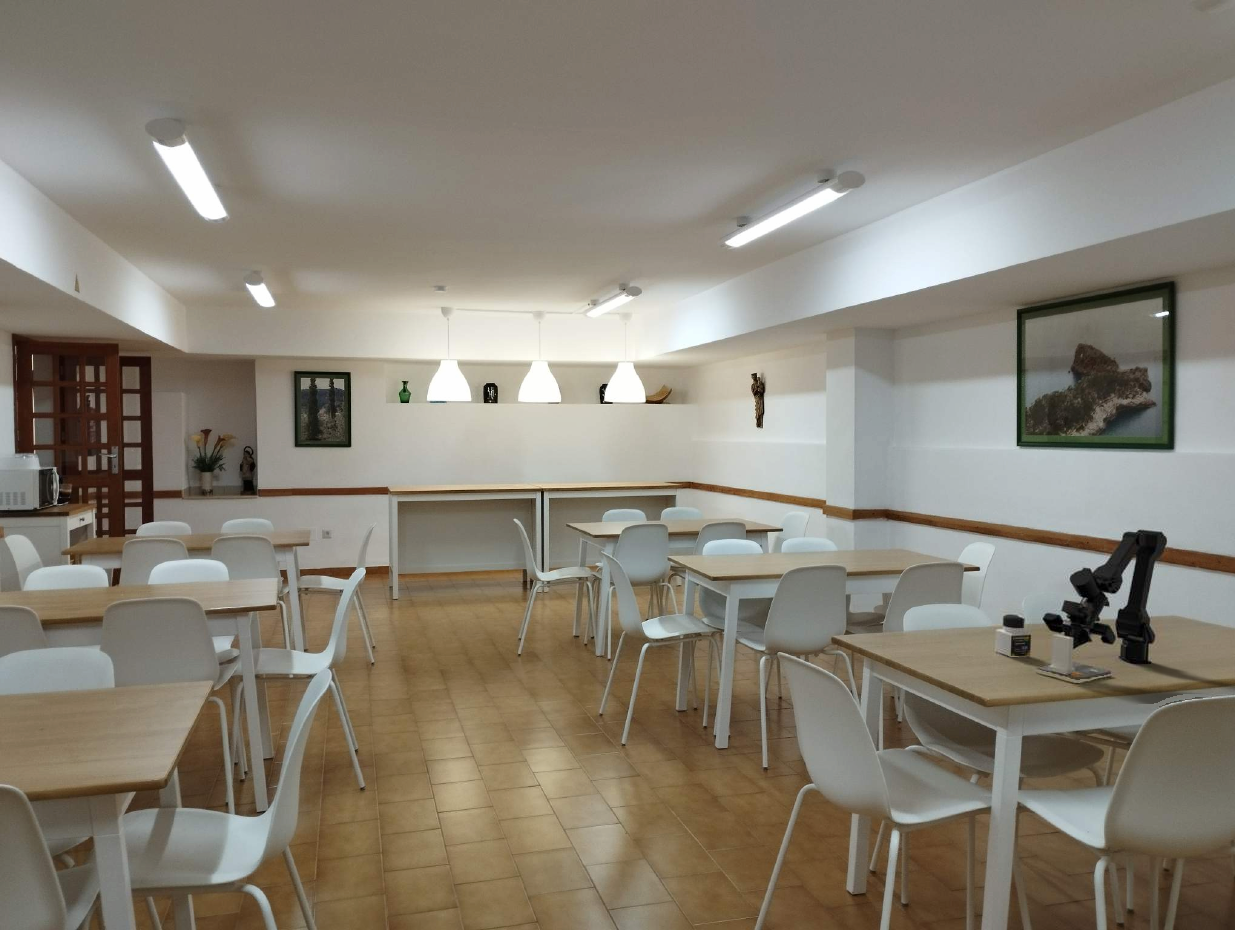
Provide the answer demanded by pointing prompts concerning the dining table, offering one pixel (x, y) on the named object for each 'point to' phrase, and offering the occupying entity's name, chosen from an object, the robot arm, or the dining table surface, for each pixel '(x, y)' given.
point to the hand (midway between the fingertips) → (1065, 651)
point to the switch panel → (1080, 671)
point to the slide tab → (1062, 654)
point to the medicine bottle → (1013, 637)
